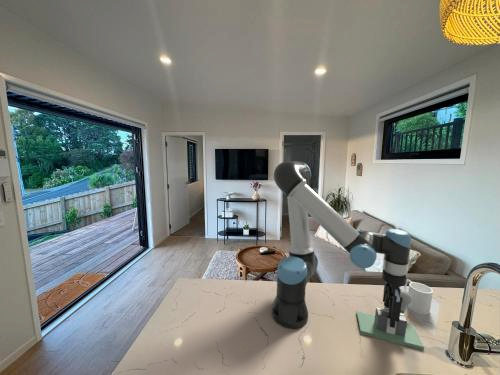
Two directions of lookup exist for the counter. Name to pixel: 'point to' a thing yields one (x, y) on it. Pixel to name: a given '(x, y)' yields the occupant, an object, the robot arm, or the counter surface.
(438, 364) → the counter surface
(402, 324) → the block
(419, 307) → the cup
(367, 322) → the board
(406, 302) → the lightbulb
